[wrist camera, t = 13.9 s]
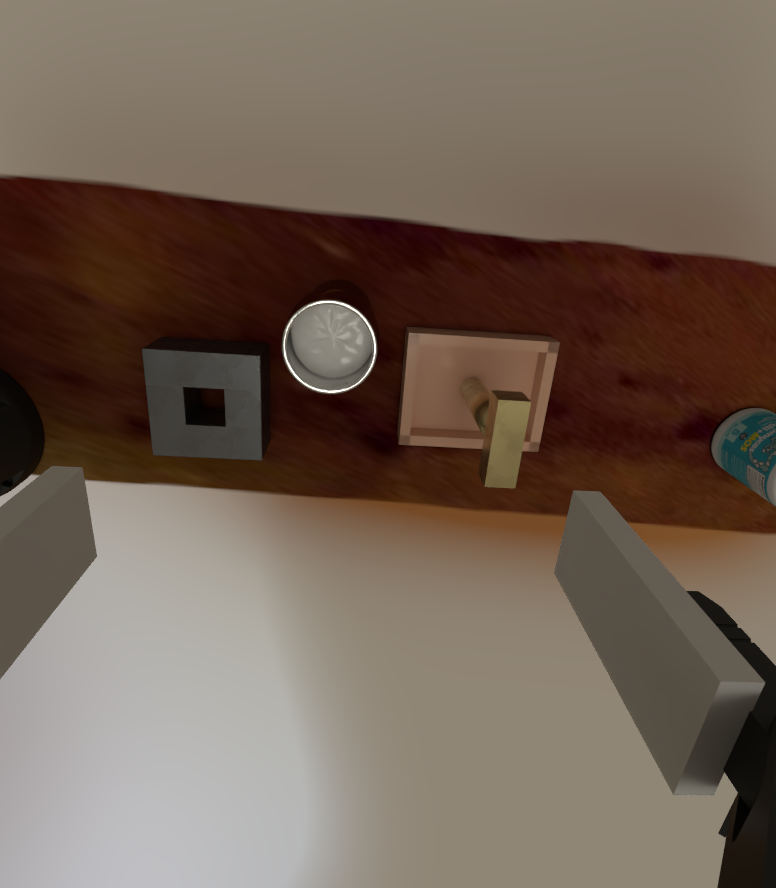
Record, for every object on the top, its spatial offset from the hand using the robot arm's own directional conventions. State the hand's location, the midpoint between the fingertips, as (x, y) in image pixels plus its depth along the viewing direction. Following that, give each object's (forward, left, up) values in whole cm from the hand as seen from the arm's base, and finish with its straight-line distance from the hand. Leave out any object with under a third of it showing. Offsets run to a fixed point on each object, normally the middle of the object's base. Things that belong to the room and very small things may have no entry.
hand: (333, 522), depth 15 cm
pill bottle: (+42, -11, -39) cm, 58 cm away
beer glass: (-2, -1, -39) cm, 39 cm away
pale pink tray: (+12, -7, -39) cm, 41 cm away
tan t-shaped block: (+12, -7, -38) cm, 40 cm away
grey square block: (-13, -9, -39) cm, 42 cm away
